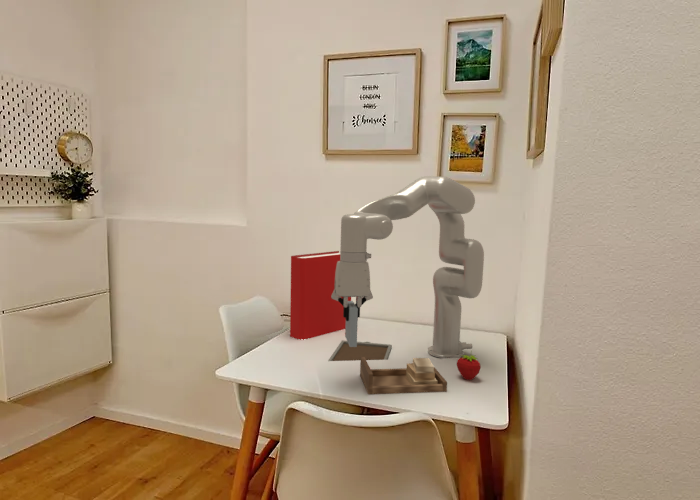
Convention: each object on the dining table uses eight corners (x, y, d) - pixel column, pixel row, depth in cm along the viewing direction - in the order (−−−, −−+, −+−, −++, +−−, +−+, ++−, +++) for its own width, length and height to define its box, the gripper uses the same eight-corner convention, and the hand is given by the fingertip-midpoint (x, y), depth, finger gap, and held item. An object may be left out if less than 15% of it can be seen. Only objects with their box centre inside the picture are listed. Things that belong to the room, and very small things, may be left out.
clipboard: (324, 365, 157) (343, 338, 187) (324, 369, 158) (343, 342, 187) (383, 370, 154) (392, 342, 183) (382, 375, 154) (392, 346, 183)
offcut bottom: (427, 376, 150) (428, 369, 150) (437, 388, 141) (437, 380, 141) (406, 376, 149) (406, 370, 149) (414, 388, 140) (414, 381, 140)
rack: (431, 376, 153) (432, 355, 152) (446, 395, 139) (447, 372, 138) (359, 378, 149) (360, 357, 149) (368, 398, 136) (368, 374, 135)
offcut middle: (424, 369, 150) (425, 362, 149) (434, 379, 142) (435, 372, 142) (406, 370, 148) (406, 363, 148) (415, 380, 141) (415, 373, 140)
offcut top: (428, 364, 148) (429, 358, 148) (433, 373, 141) (433, 366, 141) (412, 364, 148) (412, 358, 147) (416, 373, 141) (416, 366, 140)
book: (337, 323, 211) (338, 250, 207) (350, 327, 205) (352, 252, 201) (288, 335, 191) (289, 256, 187) (301, 340, 186) (302, 258, 182)
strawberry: (460, 376, 154) (462, 345, 153) (483, 382, 149) (485, 351, 148) (452, 381, 149) (453, 350, 148) (474, 388, 145) (476, 356, 143)
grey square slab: (351, 336, 147) (352, 300, 145) (356, 346, 137) (357, 308, 136) (345, 336, 146) (346, 301, 145) (349, 346, 137) (350, 309, 135)
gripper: (377, 255, 143) (375, 316, 146) (324, 255, 141) (323, 316, 143) (383, 259, 136) (380, 323, 138) (327, 259, 134) (325, 323, 136)
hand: (351, 319), depth 141 cm, fingers closed on grey square slab, 2 cm apart
